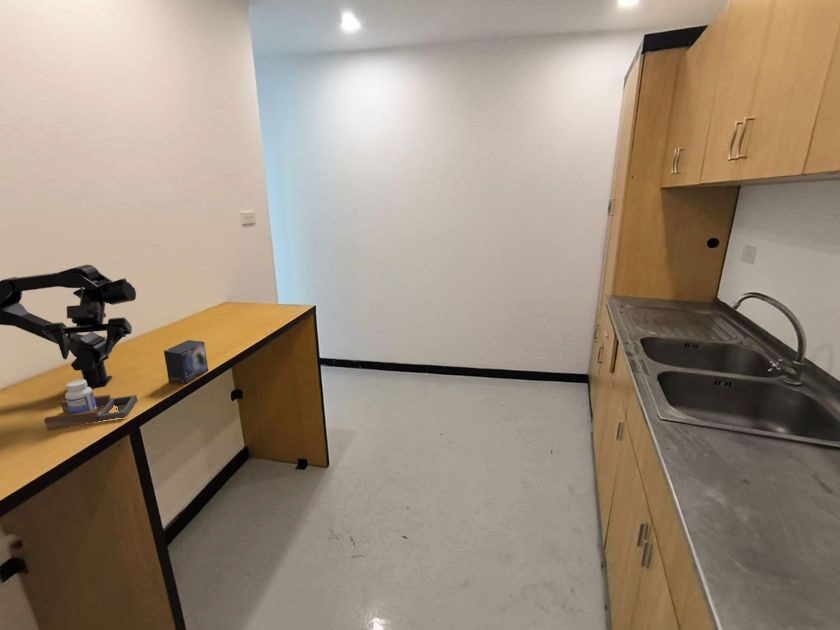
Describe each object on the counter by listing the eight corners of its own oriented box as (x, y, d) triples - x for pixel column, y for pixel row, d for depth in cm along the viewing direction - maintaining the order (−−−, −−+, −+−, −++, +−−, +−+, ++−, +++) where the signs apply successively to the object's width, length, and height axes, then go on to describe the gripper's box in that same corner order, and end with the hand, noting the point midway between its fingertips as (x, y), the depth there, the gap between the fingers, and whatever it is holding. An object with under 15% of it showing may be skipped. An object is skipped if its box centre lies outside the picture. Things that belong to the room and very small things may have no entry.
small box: (186, 384, 123) (180, 352, 120) (167, 382, 124) (161, 351, 121) (210, 370, 133) (205, 340, 130) (192, 368, 134) (187, 339, 131)
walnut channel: (65, 410, 108) (62, 400, 107) (112, 404, 111) (109, 394, 110) (47, 430, 99) (43, 419, 98) (98, 422, 102) (95, 412, 101)
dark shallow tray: (113, 404, 111) (111, 398, 111) (137, 400, 113) (136, 394, 113) (99, 422, 102) (97, 416, 102) (126, 418, 104) (124, 412, 104)
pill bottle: (85, 410, 108) (76, 377, 105) (103, 411, 108) (95, 378, 105) (65, 420, 103) (56, 386, 100) (84, 422, 102) (75, 387, 100)
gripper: (35, 295, 106) (24, 348, 99) (119, 289, 112) (114, 339, 105) (57, 315, 115) (48, 365, 108) (134, 309, 121) (130, 356, 114)
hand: (85, 356), depth 109 cm, fingers open, 9 cm apart
